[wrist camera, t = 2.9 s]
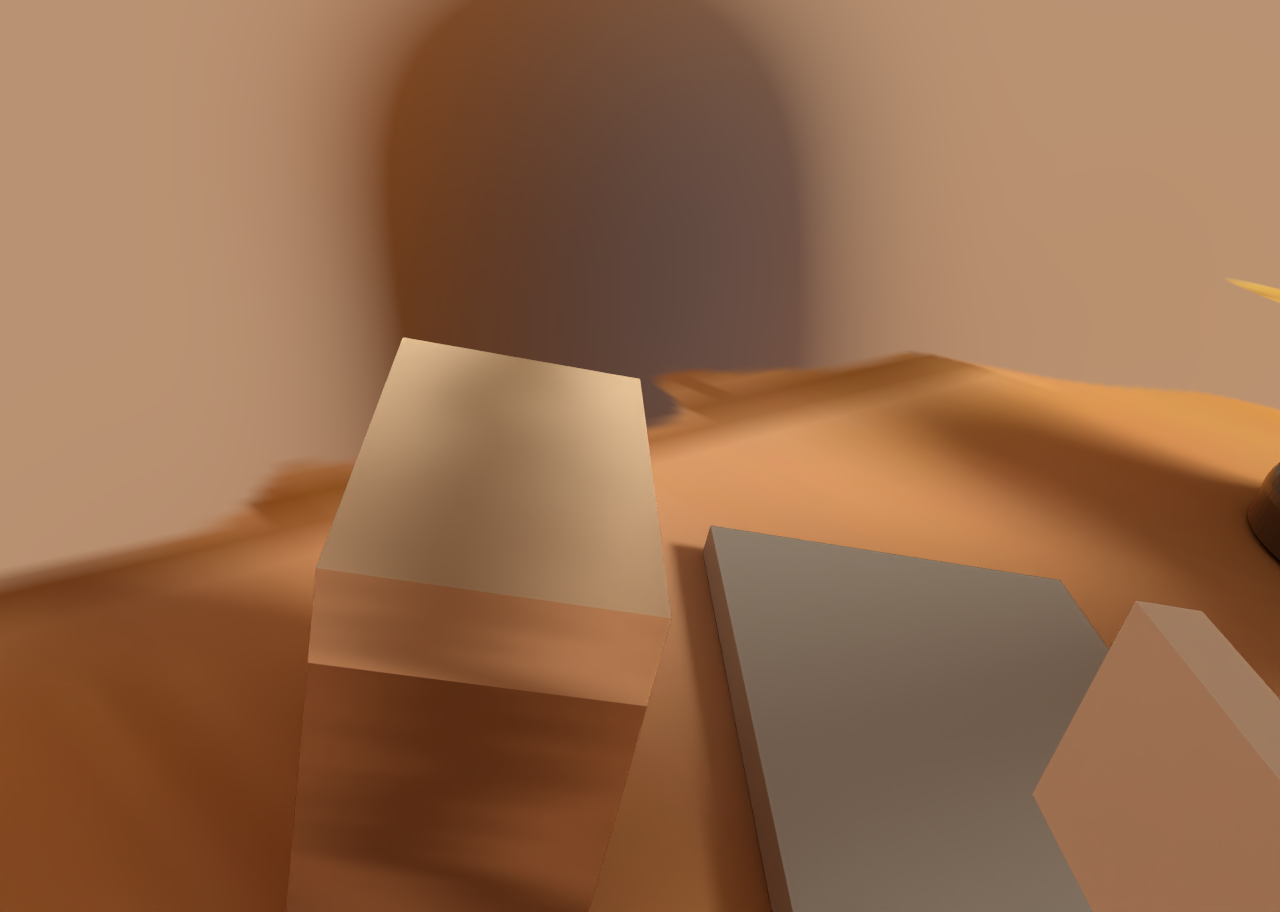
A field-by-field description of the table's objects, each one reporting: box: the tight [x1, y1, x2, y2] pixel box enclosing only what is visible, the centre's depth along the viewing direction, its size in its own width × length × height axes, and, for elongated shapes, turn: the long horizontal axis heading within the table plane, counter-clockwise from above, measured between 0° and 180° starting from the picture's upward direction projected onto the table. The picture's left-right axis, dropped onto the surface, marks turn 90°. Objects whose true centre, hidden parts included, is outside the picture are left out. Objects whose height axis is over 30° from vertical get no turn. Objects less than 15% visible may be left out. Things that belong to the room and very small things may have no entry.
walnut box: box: [286, 338, 672, 912], centre depth 24 cm, size 6×10×10 cm, turn 3°
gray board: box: [703, 526, 1109, 912], centre depth 32 cm, size 14×18×1 cm
